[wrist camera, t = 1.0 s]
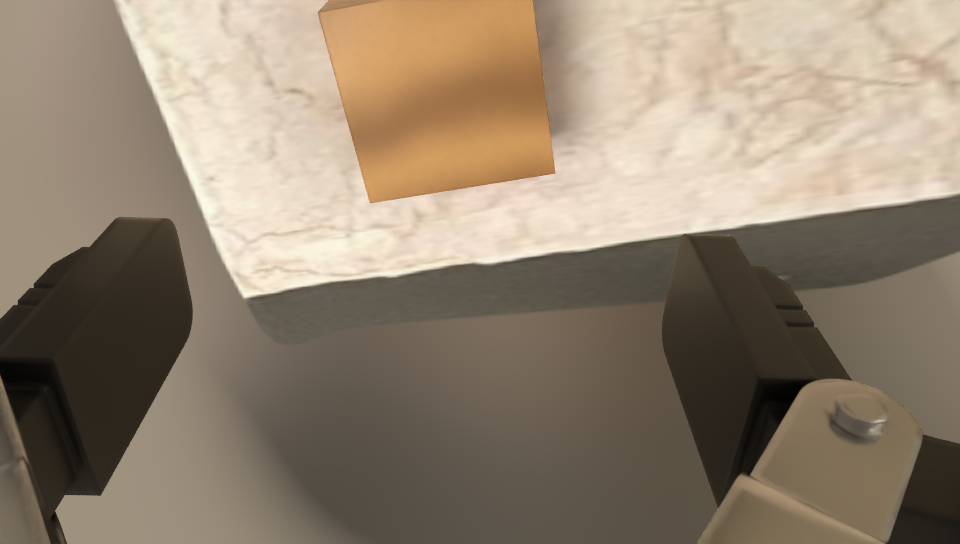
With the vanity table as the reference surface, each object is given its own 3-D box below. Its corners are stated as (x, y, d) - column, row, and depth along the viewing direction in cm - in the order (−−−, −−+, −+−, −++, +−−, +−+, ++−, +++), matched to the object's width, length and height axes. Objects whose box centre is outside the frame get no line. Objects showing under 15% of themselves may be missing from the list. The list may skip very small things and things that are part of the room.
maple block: (335, -8, 39) (317, 12, 34) (523, -43, 38) (529, -27, 34) (380, 167, 44) (369, 203, 39) (547, 140, 43) (555, 173, 39)
